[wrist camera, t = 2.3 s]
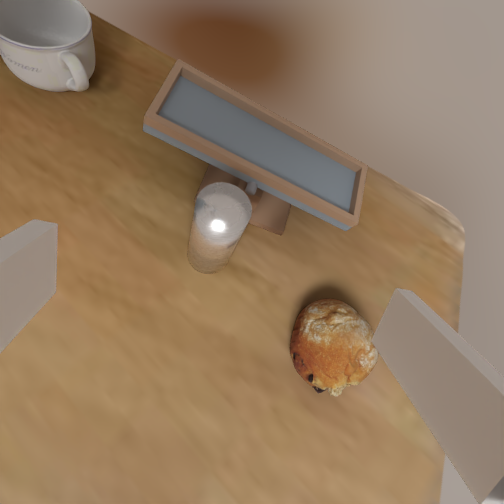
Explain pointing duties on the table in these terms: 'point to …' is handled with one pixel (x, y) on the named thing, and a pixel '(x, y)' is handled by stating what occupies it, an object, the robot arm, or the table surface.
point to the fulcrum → (254, 201)
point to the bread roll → (332, 346)
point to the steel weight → (217, 226)
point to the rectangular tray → (256, 146)
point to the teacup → (48, 43)
